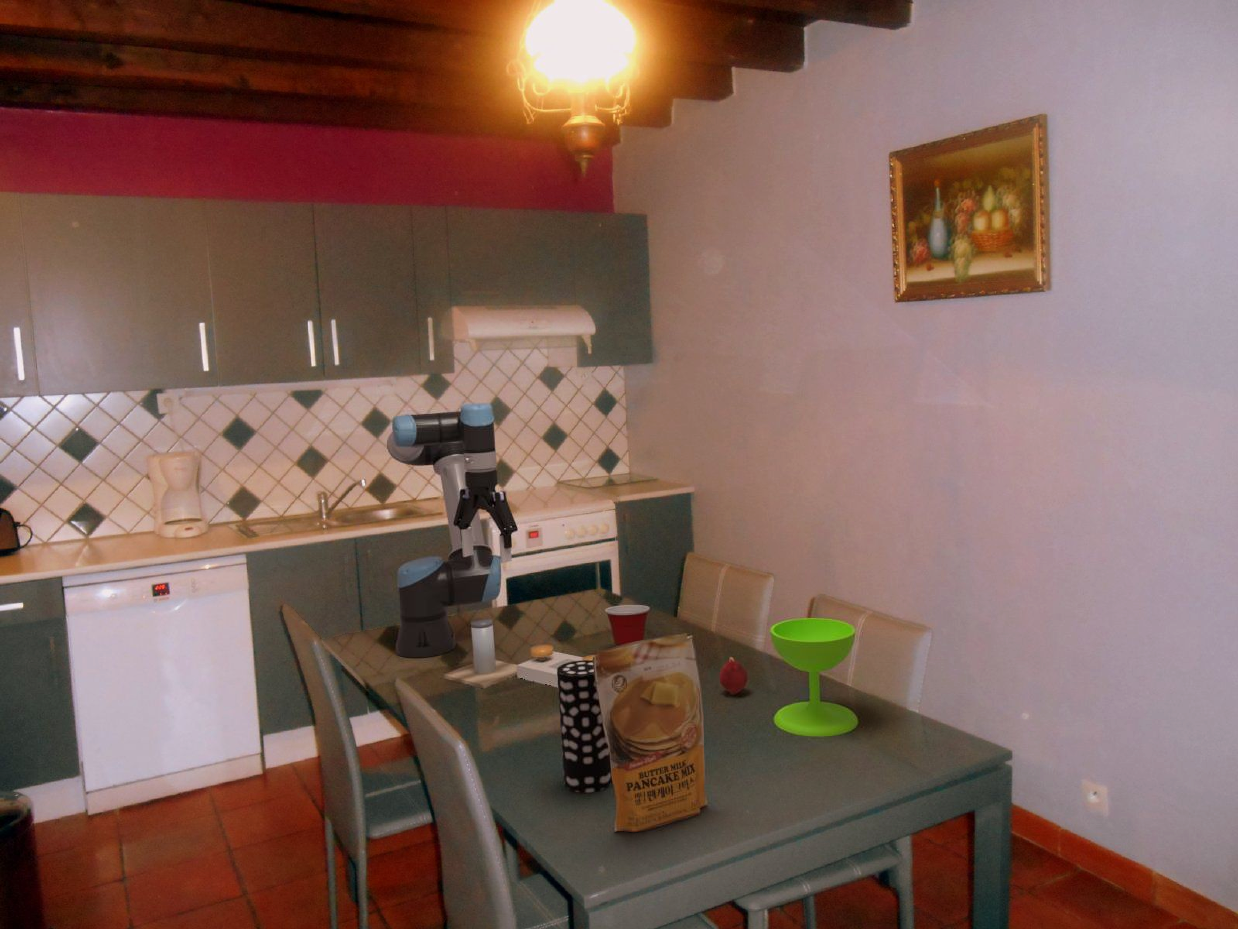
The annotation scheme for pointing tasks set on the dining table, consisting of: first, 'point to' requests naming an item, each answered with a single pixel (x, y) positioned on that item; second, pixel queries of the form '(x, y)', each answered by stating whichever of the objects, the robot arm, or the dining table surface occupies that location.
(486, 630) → the cylinder
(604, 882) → the dining table surface
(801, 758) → the dining table surface
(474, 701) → the dining table surface
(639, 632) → the plastic cup
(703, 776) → the pancake mix bag
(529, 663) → the block
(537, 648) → the plunger left
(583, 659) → the plunger right
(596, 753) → the white-spotted black cylinder
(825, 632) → the wineglass
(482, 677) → the board
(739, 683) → the onion
